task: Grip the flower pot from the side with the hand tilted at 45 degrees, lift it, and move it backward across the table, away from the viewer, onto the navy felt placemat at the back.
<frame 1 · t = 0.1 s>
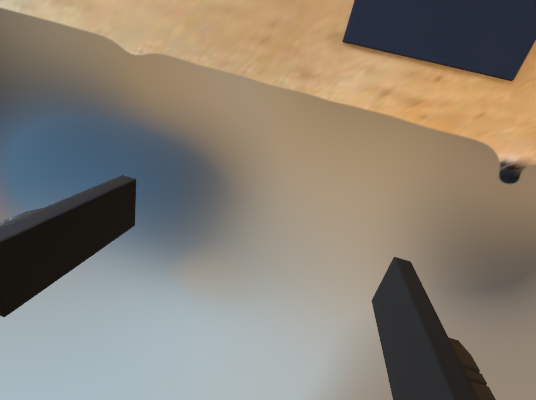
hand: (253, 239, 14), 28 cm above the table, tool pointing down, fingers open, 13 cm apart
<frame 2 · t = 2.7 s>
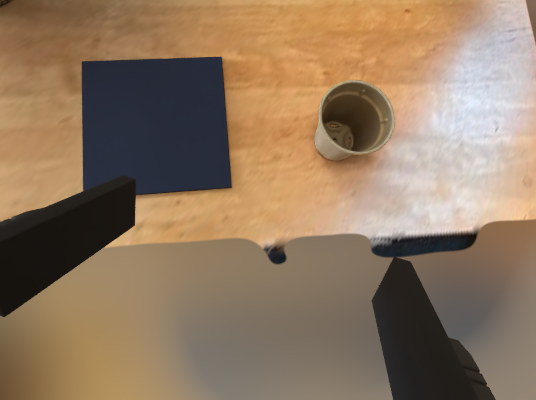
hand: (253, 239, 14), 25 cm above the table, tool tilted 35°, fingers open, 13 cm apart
placemat: (157, 125, 39), on the table
flower pot: (334, 141, 41), on the table
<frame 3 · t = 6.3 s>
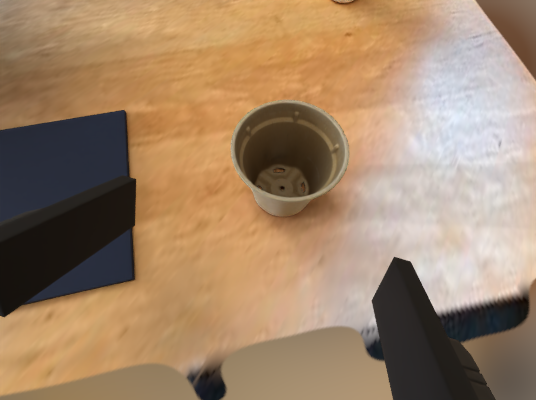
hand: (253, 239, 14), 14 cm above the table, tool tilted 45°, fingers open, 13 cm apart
placemat: (31, 204, 28), on the table
flower pot: (282, 190, 30), on the table
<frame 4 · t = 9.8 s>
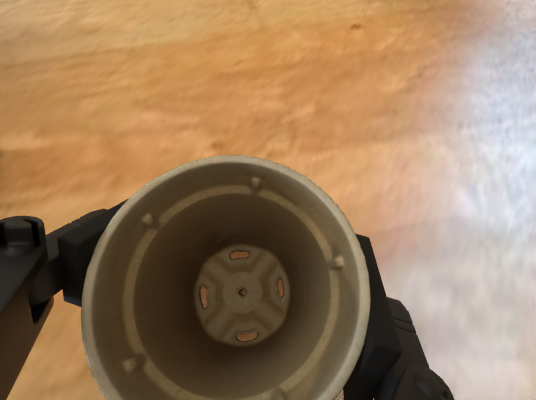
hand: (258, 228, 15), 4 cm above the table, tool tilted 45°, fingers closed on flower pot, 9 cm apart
flower pot: (244, 291, 17), on the table, touching gripper
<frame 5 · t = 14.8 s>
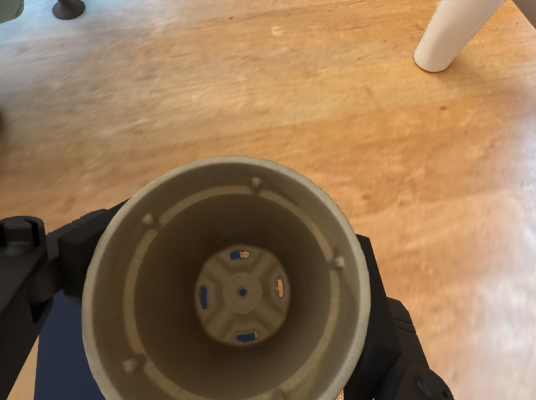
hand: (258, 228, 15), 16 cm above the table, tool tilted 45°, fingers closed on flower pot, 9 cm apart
drinking glass: (428, 62, 41), on the table
placemat: (147, 308, 27), on the table
sundae: (69, 10, 44), on the table
flower pot: (244, 292, 17), point 12 cm above the table, touching gripper
when the fingers open (4 cm above the table, at t = 19.8 s): flower pot stays where it is, resting on placemat.
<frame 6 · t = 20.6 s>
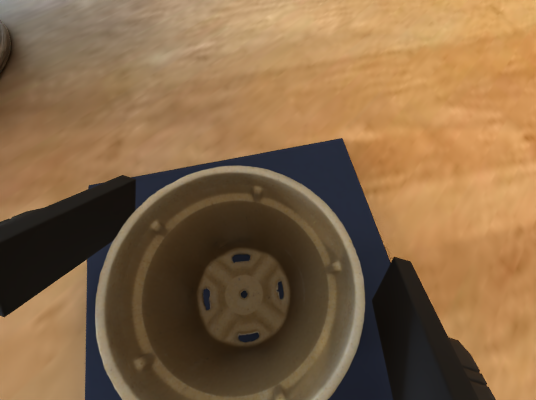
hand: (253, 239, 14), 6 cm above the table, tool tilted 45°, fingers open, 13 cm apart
placemat: (246, 292, 18), on the table
flower pot: (246, 293, 18), resting on placemat
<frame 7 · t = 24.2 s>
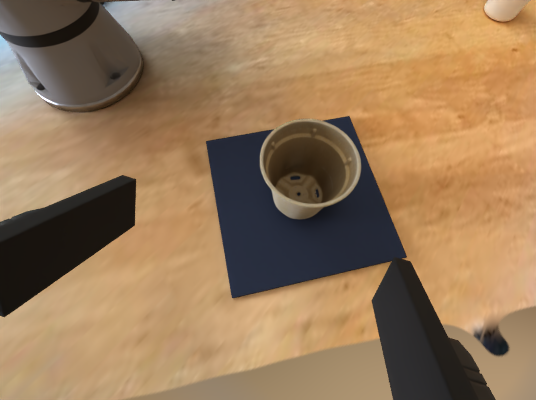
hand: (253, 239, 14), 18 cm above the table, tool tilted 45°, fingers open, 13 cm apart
drinking glass: (496, 14, 47), on the table
placemat: (298, 196, 34), on the table
flower pot: (298, 196, 33), resting on placemat
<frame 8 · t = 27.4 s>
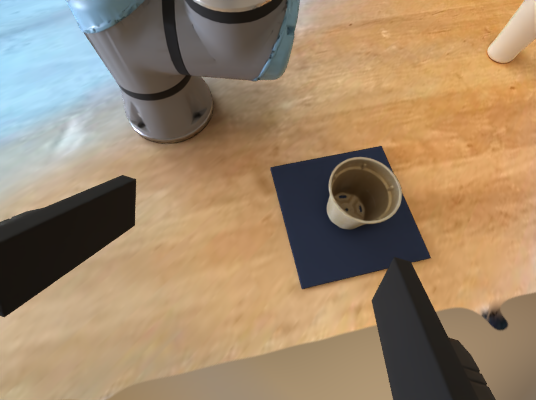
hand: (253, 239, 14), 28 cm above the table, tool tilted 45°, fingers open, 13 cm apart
drinking glass: (497, 56, 57), on the table
placemat: (345, 210, 44), on the table
flower pot: (345, 210, 43), resting on placemat
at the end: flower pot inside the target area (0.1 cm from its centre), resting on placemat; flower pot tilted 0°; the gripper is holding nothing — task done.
